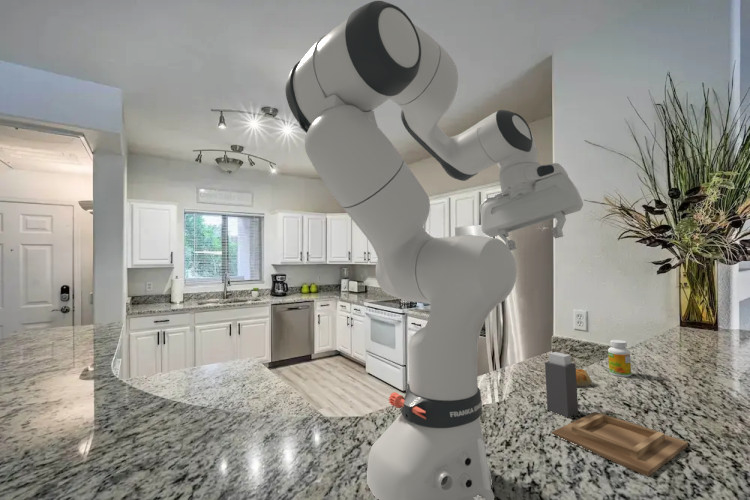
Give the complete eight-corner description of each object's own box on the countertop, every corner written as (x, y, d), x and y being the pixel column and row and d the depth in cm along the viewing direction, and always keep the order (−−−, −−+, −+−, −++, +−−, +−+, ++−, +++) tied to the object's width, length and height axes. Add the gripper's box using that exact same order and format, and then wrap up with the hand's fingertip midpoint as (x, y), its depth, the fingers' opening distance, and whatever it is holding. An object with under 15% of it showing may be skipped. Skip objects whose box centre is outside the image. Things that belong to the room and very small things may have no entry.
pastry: (565, 390, 93) (564, 375, 93) (547, 382, 100) (546, 368, 100) (594, 386, 95) (593, 372, 96) (574, 378, 102) (574, 365, 102)
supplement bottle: (605, 373, 105) (603, 340, 105) (616, 370, 107) (614, 338, 108) (624, 378, 100) (622, 344, 100) (635, 375, 102) (633, 341, 103)
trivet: (648, 476, 55) (647, 463, 55) (552, 435, 69) (551, 425, 69) (687, 446, 64) (687, 435, 64) (595, 415, 77) (594, 406, 77)
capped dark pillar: (568, 418, 76) (564, 358, 77) (547, 410, 81) (544, 353, 81) (578, 413, 79) (575, 355, 79) (557, 406, 83) (554, 350, 83)
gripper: (472, 197, 81) (480, 252, 76) (567, 159, 69) (584, 223, 64) (484, 206, 86) (492, 259, 81) (576, 173, 73) (592, 233, 68)
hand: (534, 243), depth 72 cm, fingers open, 8 cm apart
